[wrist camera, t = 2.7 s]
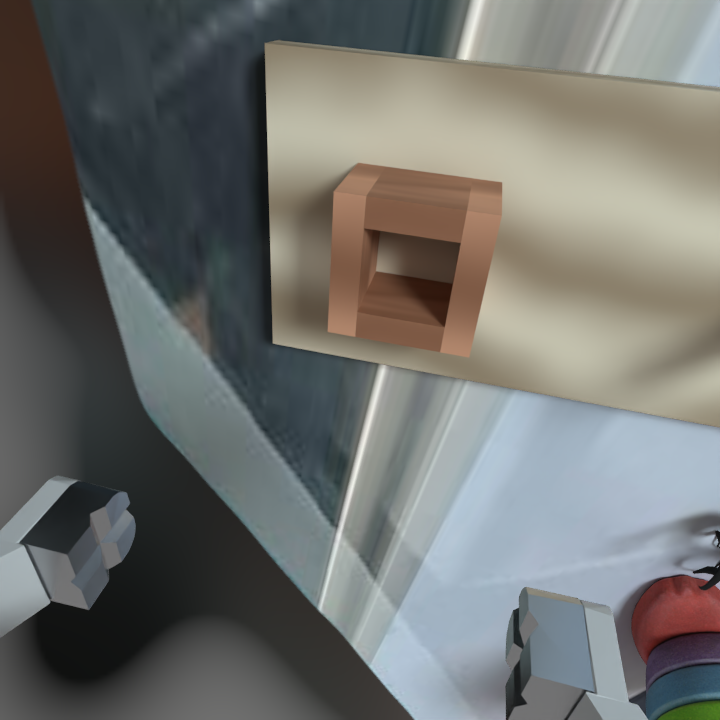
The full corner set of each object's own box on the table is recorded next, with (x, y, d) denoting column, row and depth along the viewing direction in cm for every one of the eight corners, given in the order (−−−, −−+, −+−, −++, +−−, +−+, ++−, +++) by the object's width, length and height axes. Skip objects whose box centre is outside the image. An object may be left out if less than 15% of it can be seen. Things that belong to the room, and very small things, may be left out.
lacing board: (277, 40, 22) (157, 67, 14) (1135, 131, 18) (1600, 236, 10) (282, 329, 30) (206, 444, 23) (874, 438, 26) (1027, 624, 18)
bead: (358, 162, 23) (333, 191, 19) (502, 182, 22) (501, 215, 19) (349, 289, 26) (327, 331, 23) (473, 310, 25) (469, 357, 22)
